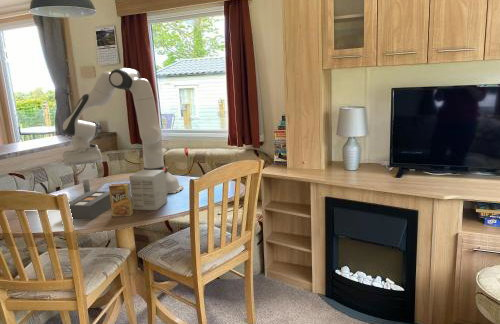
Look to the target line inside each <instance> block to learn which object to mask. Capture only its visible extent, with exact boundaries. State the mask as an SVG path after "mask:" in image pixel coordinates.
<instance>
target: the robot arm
mask: <svg viewBox="0 0 500 324" xmlns="http://www.w3.org/2000/svg"><path fill="white" fill-rule="evenodd" d="M117 89H118V90H125V91H130V92H131V94H132V99H133V104H134V108H135V114H136V120H137V125H138V132H139V137H140V139H141V142H142V158H143V170H164V173H165V183H166V193H167V195H169V194H168V193H173V194H177V193H179V192H181V191H182V190H183V189H184V185H182V184H180V182H179V179H178V177H176V176H175V175H174V174H171V173H170V172H169V171H168V168H169V166H166V165H165V163H164V152H163V140H162V136H163V135H162V129H161V127H160V122H159V117H158V112H157V110H158V109H157V106H156V101H155V95H154V93H153V89H152V85H151V83H150V81H149V80H148V79H147V78H142V77H141V75H140V72H139V71H138V70H136V69H134V68H129V67H128V68H127V67H121V68H115V69H113V70H112V71H105V70H104V71H103V72H101V74H99V76H98V78H97V79H96V81H95V84H94V86H93V88H92V89H91V90H90V91H89V92H87V93H86V94H83V95H82V96H81V97H80V99H79V100H78V102H77V103H76V104H75V106H74V108H73V109H72V111H71V112H70V113H69V116H67V118H66V119H65V120H64V122H63V123H62V131H63V133H64V134H65V135H66V136H71V137H72V142H73V145H72V148H73V150H66V151H64V152H63V153H62V157H63V165H64V166H65V167H71V168H72V169H73V171H74V172H78V169H77V166H78V165H79V166H80V165H88V164H91V169H92V170H94V169H96V168H95V167H96V166H97V163H101V162H103V157H102V152H101V149H100V148H99V146H98V145H97V144H95V143H90V142H91V141H93V140H94V139H95V138H96V137H97V136H98V135H99V130H98V125H97V124H96V123H94V122H92V121H89V120H88V121H87V120H82V119H80V118H81V116H82V114H83V113H84V112H85V111H86V110H87V109H90V108H93V107H103V106H106V105H108V104H110V102H112V99H113V97H114V96H115V95H114V94H115V93H116V91H117ZM180 190H181V191H180ZM176 192H177V193H176Z"/></svg>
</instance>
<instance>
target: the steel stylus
mask: <svg viewBox="0 0 500 324" xmlns="http://www.w3.org/2000/svg"><path fill="white" fill-rule="evenodd" d="M82 186H83V190H84V191H83V192H84V193H83V194H85V193H87V192H89V191H91V186H90V178H82Z"/></svg>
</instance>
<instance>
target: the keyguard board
mask: <svg viewBox="0 0 500 324" xmlns="http://www.w3.org/2000/svg"><path fill="white" fill-rule="evenodd" d="M95 193H103V194H101V195H100V196H91V195H93V194H95ZM88 197H96V198H94V199H93V200H84V199H86V198H88ZM68 202H69V204H70V209H71V213H72V217H73V219H72V220H77V221H78V220H80V221H81V220H83V221H85V220H87V221H92V220H94V219H95V218H97V217H98V216H100V215H101V214H103V213H104V212H106V211H107V210H110V209H111V200H110V192H109V191H92V190H90V191H89V192H87V193H83V194H82V195H80V196H78V197H76V198H73V199H72V200H70V201H68ZM78 202H87V203H86V204H84V205H75V204H77V203H78Z"/></svg>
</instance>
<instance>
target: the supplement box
mask: <svg viewBox="0 0 500 324" xmlns="http://www.w3.org/2000/svg"><path fill="white" fill-rule="evenodd" d="M128 178H129V183H130V191H131V201H132V210H137V211H138V210H139V211H141V210H142V211H143V210H144V211H158V210H159V209H160V208H161V207H162V206H165V204H167V203H168V197H167V196H168V194H167V193H166V183H165V173H164V170H144V169H141V170H138V171H137V172H135V173H132V174H130V175H128Z"/></svg>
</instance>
